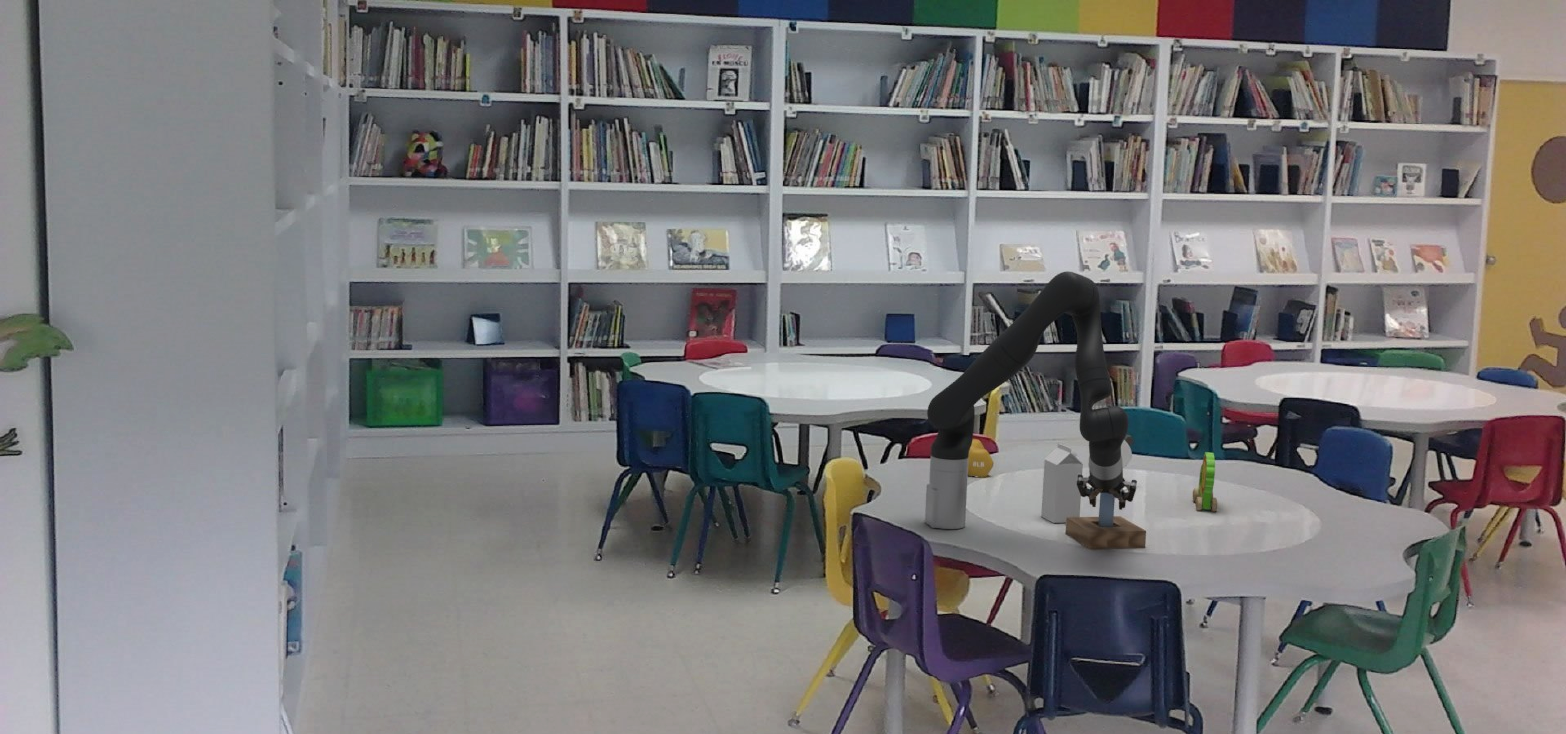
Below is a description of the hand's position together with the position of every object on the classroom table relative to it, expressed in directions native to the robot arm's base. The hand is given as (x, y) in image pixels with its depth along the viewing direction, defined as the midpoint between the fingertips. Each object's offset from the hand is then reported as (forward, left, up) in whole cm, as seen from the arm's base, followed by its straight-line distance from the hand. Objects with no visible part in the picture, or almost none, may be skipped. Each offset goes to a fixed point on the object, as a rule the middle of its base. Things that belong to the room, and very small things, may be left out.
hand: (1107, 505), depth 328 cm
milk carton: (-4, +18, -8) cm, 21 cm away
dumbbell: (-7, +76, -9) cm, 77 cm away
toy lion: (+41, +28, -9) cm, 51 cm away
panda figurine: (+25, +53, -8) cm, 60 cm away
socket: (-1, -2, -8) cm, 8 cm away
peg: (-1, -2, -8) cm, 8 cm away
